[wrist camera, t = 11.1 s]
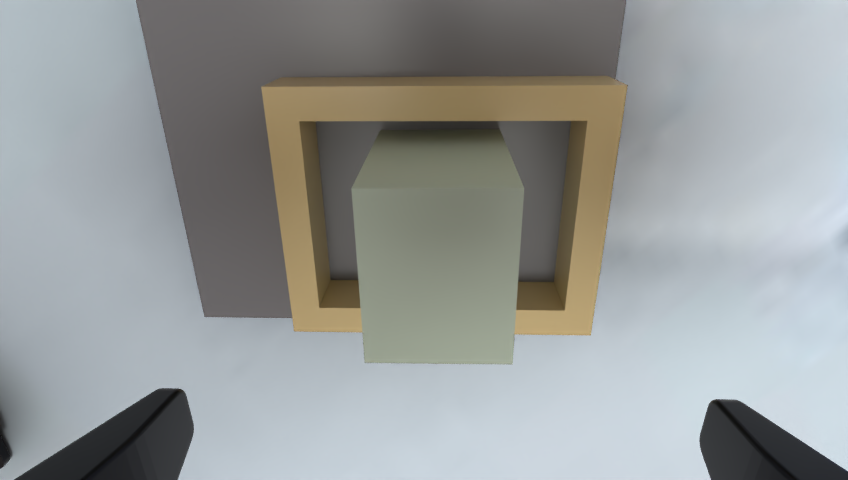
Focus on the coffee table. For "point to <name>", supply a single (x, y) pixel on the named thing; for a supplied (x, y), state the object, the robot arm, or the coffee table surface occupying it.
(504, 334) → the block
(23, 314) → the coffee table surface
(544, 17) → the socket dock
